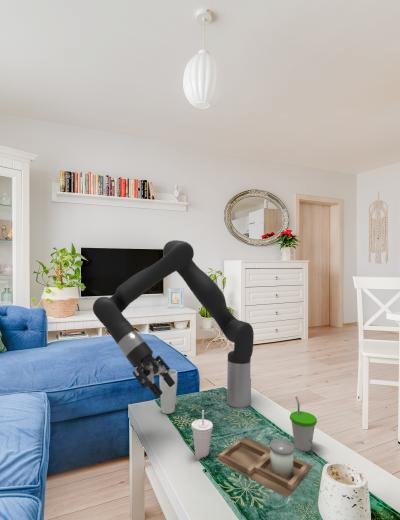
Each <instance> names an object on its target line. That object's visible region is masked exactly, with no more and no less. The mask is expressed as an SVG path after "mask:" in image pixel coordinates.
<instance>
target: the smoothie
mask: <svg viewBox="0 0 400 520" xmlns="http://www.w3.org/2000/svg"><path fill="white" fill-rule="evenodd" d="M190 428H191V430H192V437H193V445H194V456H195V459H196V460H197V461H199V460H201V459H202V458H205V457H207V456H209V452H210V445H211V439H212V438H211V437H212V431H213V429H214V425H213V422H212V421H210V420H208V419H205V410H204V409H202V410H201V418H199V419H195V420H194V421H192V422H191V427H190Z"/></svg>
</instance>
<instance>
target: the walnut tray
mask: <svg viewBox="0 0 400 520" xmlns="http://www.w3.org/2000/svg"><path fill="white" fill-rule="evenodd" d="M270 454H271V449H270V446H268V445H266V444H264V443H261V442H259V441H256V440H255V439H252V438H250V437H247V436H245V437H243V439H238V440H236V441H235V442H234V443H232V444H231V445H230V446H228V447H227V448H225V450H223V451H222V452H220V453H219V454H218V457H217V458H216V459H215V461H216V462H218V463H220V464H222V465H224V466H225V467H228V468H229V469H231V470H233V471H234V472H237V473H239V474H241V475H242V476H245V477H246V478H248V479H250V480H252V481H255V482H256V483H258V484H259V485H260V486H261V485H262V486H263V487H266V488H268V489H269V490H271V491H273V492H274V493H277V494H279V495H280V496H282V497H284V498H286V499H288V498H289V497H290V496H291V495H292V493H293V492H294V491H295V490H296V488H297V487H298V485H299V484H300V483H301V482H302V481H303V480H304V478H305V477H306V476H307V475H308V473H309V472H310V471H311V470H312V468H314V465H312V464H310V463H307V462H304V461H303V460H301V459H298V458H296V457H293V476H292V477H291V478H289V479H284V478H282V477H280V476H277V475H275V474H273V473H271V471H270Z"/></svg>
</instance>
